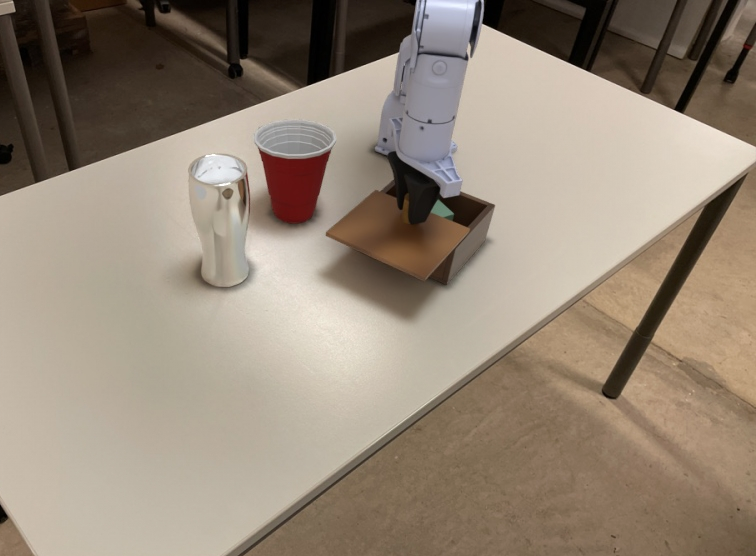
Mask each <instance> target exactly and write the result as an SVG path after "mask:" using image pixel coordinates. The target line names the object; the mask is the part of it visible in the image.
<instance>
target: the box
mask: <svg viewBox="0 0 756 556" xmlns="http://www.w3.org/2000/svg"><path fill="white" fill-rule="evenodd" d="M379 191H380V192H383V193H385V194H388V195H390V196H393V197H395V198H397V197H396V187H395V181H394V179H392V180H391V181H390V182H389V183H388V184H387V185H386V186H384V187H382V189H380V190H379ZM438 200H439V201H440V202H442V203H443V204H444V205H445V206H446V207H447V208H448V209H449V210H450V211H451V212H453V213H454V216H453V222H455V223H458V224H460V225H462V226H465V227H467V228H470V231H469V233H468V234H467V235H466V236H465V237H464V238H463V240H462V241H461V242H460V243H459V244H458V245H457V246H456V247H455V248H454V249H453V251H452V252H451V253H450V254H449V255H448V256H447V257H446V258H445V259H444V260H443V261H442V263H441V264H440V265H439V266H438V267H437V268H436V269H435V270H434V271H433V272H432V274H431V275H430V276H429V277H428V278H430V279H433V280H435V281H437V282H439V283H441V284H444V285H445V286H447V285H448V284H449V283H450V282H451V281H452V279H454V277H455V276H456V275H457V274H458V272H459V271H460V270H461V269H462V268H463V267H464V266H465V264H466V263H467V262H468V261H469V260H470V259H471V258H472V256H473V255H475V254H476V252H477V251H478V250H479V248H480V247H481V246H482V245H483V244H484V243H485V241H486V239H487V236H488V232H489V228H490V225H491V222H492V218H493V215H494V211H495V208H496V204H495V203H492V202H489V201H487V200H484V199H481V198H479V197H476V196H473V195H471V194H468V193H467V192H463V191H461V190H460V194H459V195H457V196H453V197H447V198H443V197H442V196H440V198H439V199H438Z"/></svg>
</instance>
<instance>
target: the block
mask: <svg viewBox="0 0 756 556" xmlns="http://www.w3.org/2000/svg"><path fill="white" fill-rule="evenodd" d="M431 213H434V214H436V215H438V216H441V217H443V218H446V219H448V220H450V221H453V216H454V213H453V212H451V211H450V210H449V209H448V208H447V207H446V206H445V205H444V204H443V203H442V202H440V201H439V200H437V202H436V203H435V205H434V207H433V209H432V210H431Z"/></svg>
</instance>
